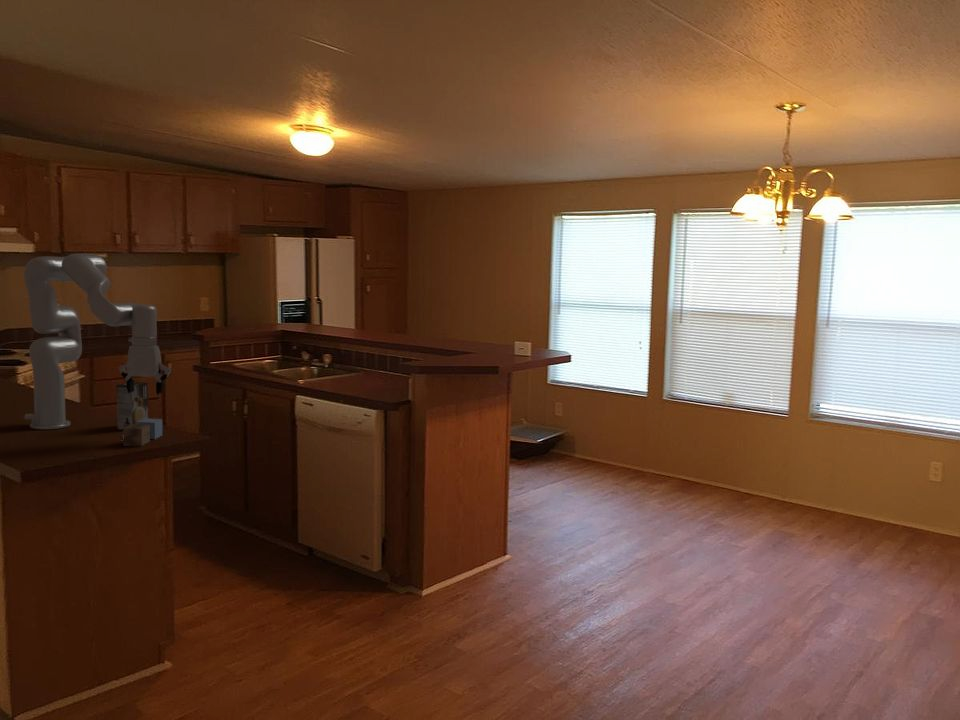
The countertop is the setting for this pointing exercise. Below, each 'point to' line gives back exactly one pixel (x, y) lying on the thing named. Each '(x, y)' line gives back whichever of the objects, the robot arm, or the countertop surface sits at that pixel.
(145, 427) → the walnut block
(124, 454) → the countertop surface
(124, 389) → the coffee box
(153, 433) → the blue cube
